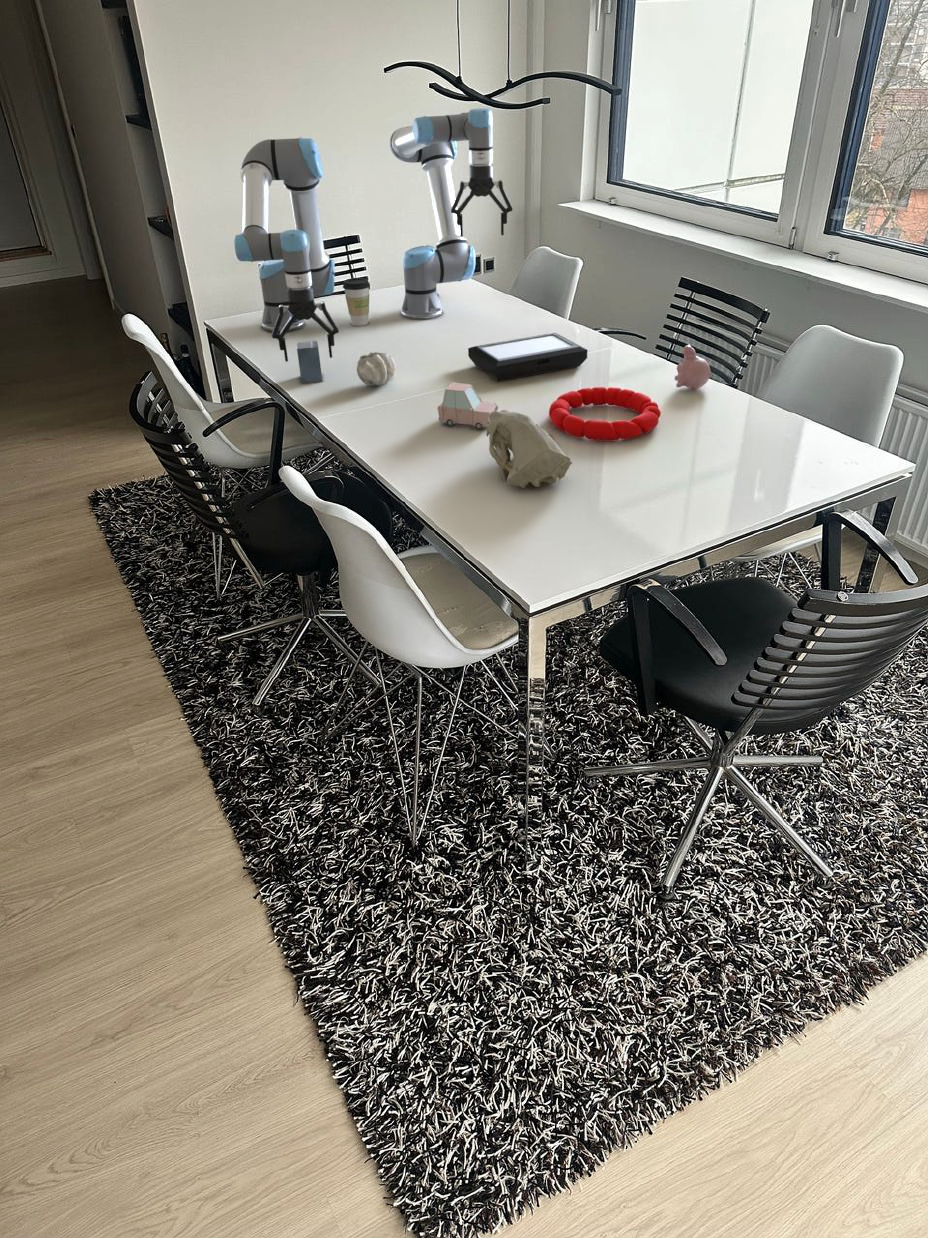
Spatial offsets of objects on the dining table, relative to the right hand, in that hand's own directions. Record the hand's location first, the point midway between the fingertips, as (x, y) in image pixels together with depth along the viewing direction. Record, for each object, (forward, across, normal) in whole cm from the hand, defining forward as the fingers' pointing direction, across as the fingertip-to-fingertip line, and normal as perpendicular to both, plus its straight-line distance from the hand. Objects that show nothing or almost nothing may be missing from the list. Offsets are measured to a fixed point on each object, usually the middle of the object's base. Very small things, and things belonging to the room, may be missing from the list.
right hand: (481, 234), depth 297 cm
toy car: (+31, -6, -85) cm, 91 cm away
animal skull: (+31, +6, -116) cm, 120 cm away
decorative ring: (+31, +31, -87) cm, 97 cm away
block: (+32, -55, -45) cm, 78 cm away
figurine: (+31, +59, -64) cm, 92 cm away
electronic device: (+31, +13, -39) cm, 52 cm away
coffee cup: (+32, -45, +14) cm, 57 cm away
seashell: (+32, -34, -52) cm, 70 cm away
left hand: (+25, -55, -45) cm, 75 cm away
